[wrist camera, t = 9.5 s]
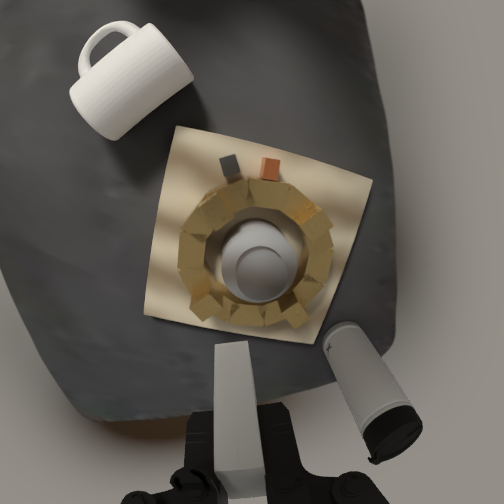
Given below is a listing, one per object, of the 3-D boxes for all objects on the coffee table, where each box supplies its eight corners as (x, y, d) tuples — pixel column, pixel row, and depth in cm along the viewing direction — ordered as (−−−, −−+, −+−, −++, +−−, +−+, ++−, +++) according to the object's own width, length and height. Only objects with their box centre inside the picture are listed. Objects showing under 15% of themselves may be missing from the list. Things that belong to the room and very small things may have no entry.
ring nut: (178, 306, 34) (171, 330, 29) (191, 148, 28) (185, 147, 23) (307, 317, 36) (318, 341, 31) (340, 171, 30) (360, 176, 25)
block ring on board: (179, 126, 29) (160, 118, 21) (365, 178, 33) (409, 190, 24) (147, 306, 36) (127, 351, 27) (309, 335, 40) (329, 381, 31)
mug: (198, 86, 28) (190, 67, 21) (126, 142, 29) (98, 141, 22) (142, 18, 24) (122, -11, 17) (76, 72, 26) (42, 58, 18)
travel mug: (310, 341, 40) (359, 458, 21) (348, 312, 39) (419, 419, 20) (333, 363, 42) (382, 469, 23) (368, 336, 41) (433, 435, 22)
